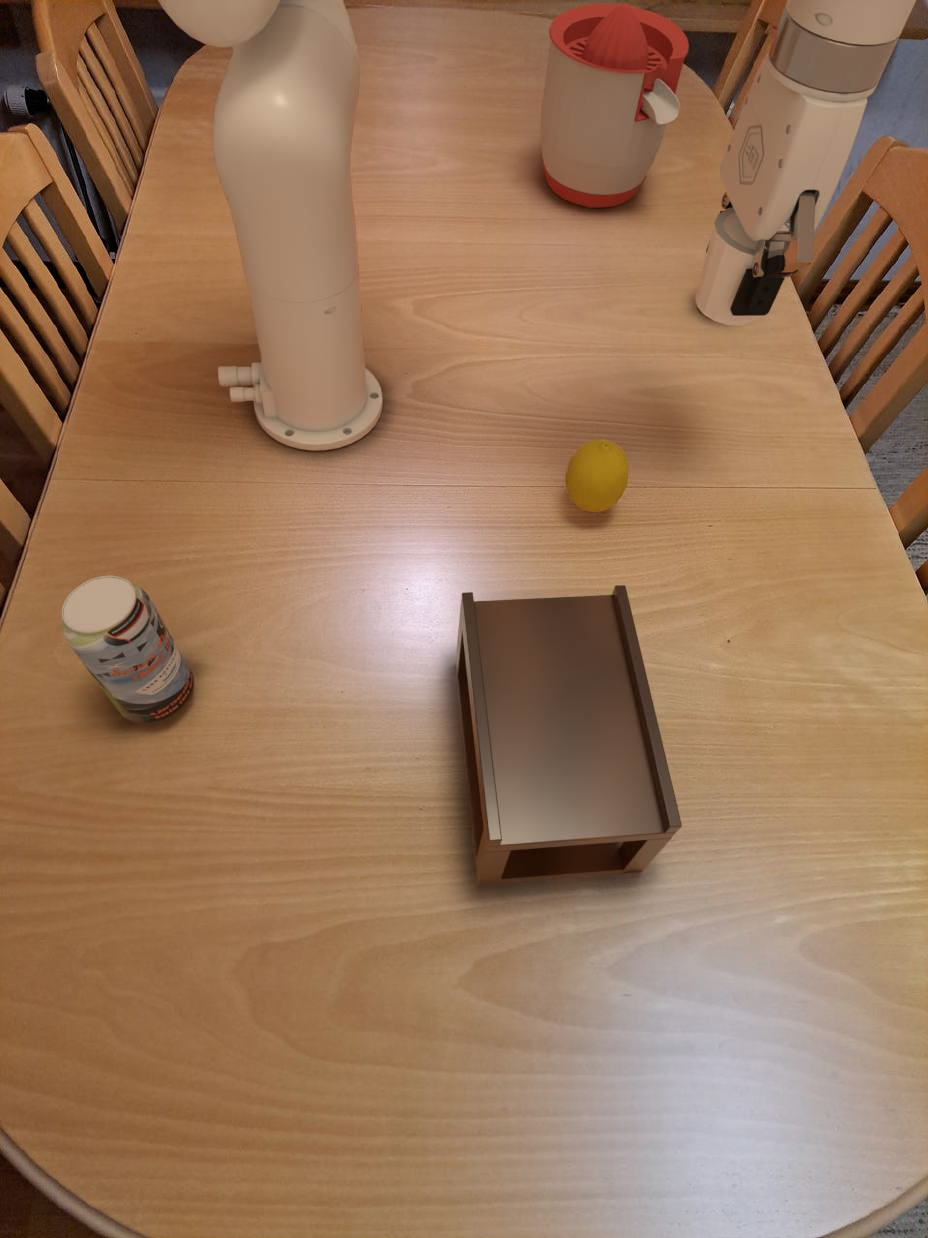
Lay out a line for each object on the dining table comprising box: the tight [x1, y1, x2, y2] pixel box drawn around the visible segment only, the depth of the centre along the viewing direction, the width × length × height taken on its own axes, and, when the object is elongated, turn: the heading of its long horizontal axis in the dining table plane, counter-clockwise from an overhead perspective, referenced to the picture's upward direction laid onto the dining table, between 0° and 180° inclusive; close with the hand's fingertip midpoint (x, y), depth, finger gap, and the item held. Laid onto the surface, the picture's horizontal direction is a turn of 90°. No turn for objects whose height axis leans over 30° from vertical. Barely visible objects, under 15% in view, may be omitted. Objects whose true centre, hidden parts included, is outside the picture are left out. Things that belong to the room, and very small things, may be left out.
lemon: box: [564, 438, 630, 513], centre depth 74 cm, size 6×6×8 cm
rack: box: [454, 584, 683, 886], centre depth 59 cm, size 12×18×10 cm, turn 5°
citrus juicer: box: [539, 2, 690, 209], centre depth 97 cm, size 16×17×20 cm
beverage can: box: [61, 575, 195, 724], centre depth 60 cm, size 6×7×12 cm
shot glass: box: [694, 207, 790, 327], centre depth 69 cm, size 7×7×7 cm
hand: (735, 282), depth 70 cm, fingers closed on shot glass, 6 cm apart
